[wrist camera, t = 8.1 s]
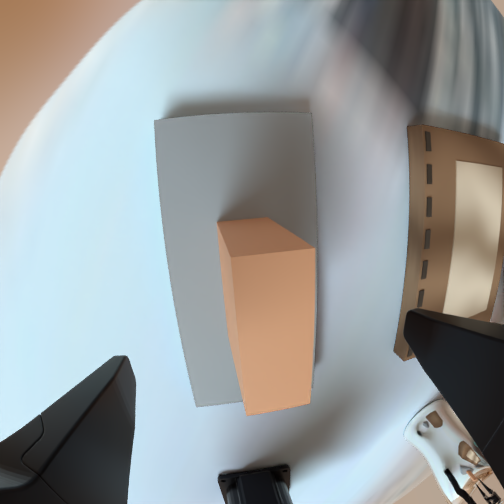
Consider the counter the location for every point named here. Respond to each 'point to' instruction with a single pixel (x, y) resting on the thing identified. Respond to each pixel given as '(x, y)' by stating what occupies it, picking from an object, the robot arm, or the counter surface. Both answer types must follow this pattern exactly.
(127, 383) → the robot arm
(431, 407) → the beer glass
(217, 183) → the gray plate with block
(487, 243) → the block
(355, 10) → the counter surface
